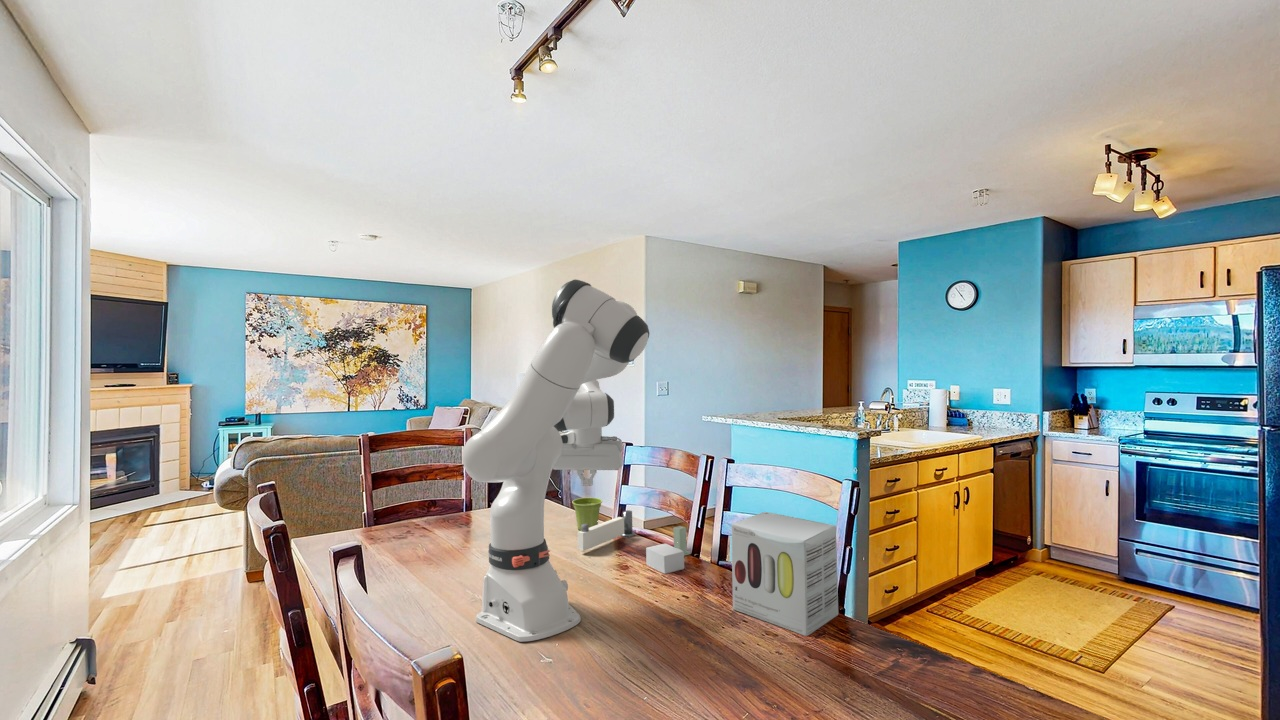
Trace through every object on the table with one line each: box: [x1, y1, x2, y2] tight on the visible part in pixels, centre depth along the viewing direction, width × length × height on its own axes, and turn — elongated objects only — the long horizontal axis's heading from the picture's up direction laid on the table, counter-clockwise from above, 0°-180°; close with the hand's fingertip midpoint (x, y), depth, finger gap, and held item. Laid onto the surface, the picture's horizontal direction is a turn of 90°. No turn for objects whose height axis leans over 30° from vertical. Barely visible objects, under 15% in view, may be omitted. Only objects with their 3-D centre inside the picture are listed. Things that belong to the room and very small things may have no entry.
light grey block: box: [645, 543, 685, 575], centre depth 147 cm, size 8×6×4 cm
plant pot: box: [571, 497, 603, 531], centre depth 182 cm, size 9×9×9 cm
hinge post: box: [620, 509, 636, 538], centre depth 174 cm, size 4×4×7 cm
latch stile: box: [672, 525, 692, 557], centre depth 157 cm, size 6×4×7 cm
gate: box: [576, 516, 624, 552], centre depth 164 cm, size 18×2×6 cm, turn 144°
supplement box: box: [731, 511, 839, 637], centre depth 118 cm, size 17×13×18 cm
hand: (587, 485), depth 164 cm, fingers closed
